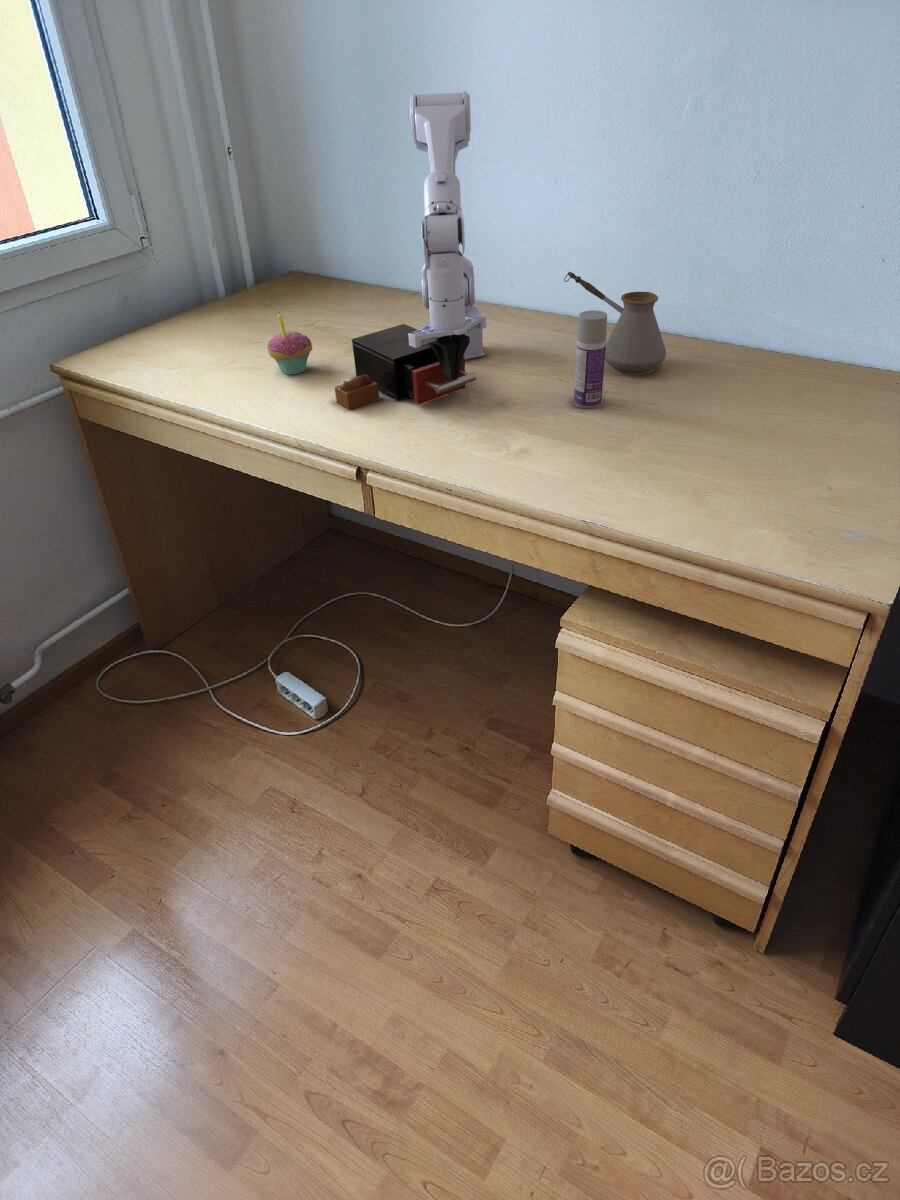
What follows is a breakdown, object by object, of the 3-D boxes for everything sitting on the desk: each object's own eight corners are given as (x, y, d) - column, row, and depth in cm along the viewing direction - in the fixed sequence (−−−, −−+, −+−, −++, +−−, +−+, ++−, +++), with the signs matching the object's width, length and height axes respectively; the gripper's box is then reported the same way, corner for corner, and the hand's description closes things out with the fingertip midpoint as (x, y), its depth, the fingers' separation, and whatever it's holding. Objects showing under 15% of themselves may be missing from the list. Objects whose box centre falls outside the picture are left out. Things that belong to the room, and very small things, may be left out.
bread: (366, 392, 144) (364, 369, 142) (379, 399, 142) (377, 376, 139) (336, 402, 141) (333, 379, 139) (349, 410, 139) (345, 386, 136)
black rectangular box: (449, 382, 146) (447, 342, 142) (397, 400, 141) (393, 359, 136) (406, 362, 155) (403, 323, 150) (356, 379, 150) (351, 339, 145)
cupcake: (306, 379, 151) (296, 315, 143) (264, 377, 152) (252, 314, 145) (321, 362, 157) (312, 300, 150) (280, 360, 159) (269, 299, 151)
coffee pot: (675, 364, 148) (686, 281, 139) (644, 384, 142) (653, 298, 132) (579, 341, 160) (583, 263, 151) (545, 359, 153) (548, 278, 144)
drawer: (482, 396, 139) (481, 363, 135) (434, 413, 134) (432, 380, 130) (424, 368, 150) (422, 338, 146) (378, 383, 145) (375, 352, 141)
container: (603, 398, 138) (610, 310, 129) (598, 409, 134) (605, 320, 125) (576, 396, 139) (581, 309, 130) (571, 407, 136) (575, 318, 126)
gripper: (424, 311, 121) (430, 397, 129) (497, 292, 128) (498, 374, 136) (398, 302, 126) (405, 386, 134) (469, 284, 133) (472, 364, 140)
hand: (450, 379), depth 135 cm, fingers closed, pressing on drawer
